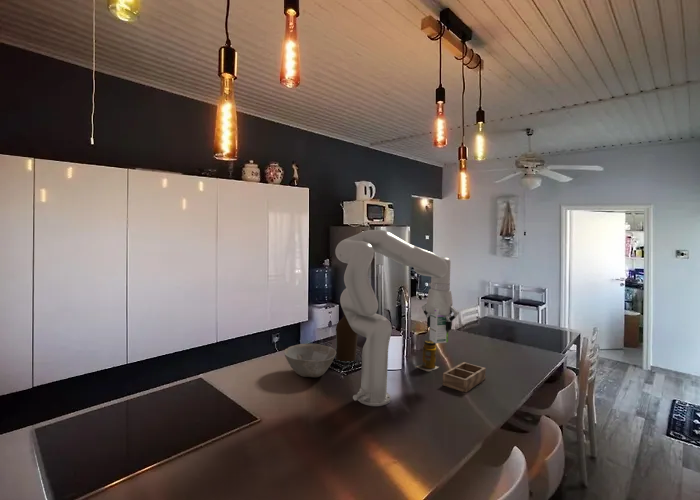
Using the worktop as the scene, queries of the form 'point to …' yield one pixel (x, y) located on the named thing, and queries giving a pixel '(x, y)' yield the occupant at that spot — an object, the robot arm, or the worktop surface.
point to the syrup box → (438, 328)
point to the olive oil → (345, 341)
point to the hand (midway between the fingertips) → (439, 328)
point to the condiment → (428, 356)
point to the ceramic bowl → (310, 359)
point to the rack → (464, 377)
